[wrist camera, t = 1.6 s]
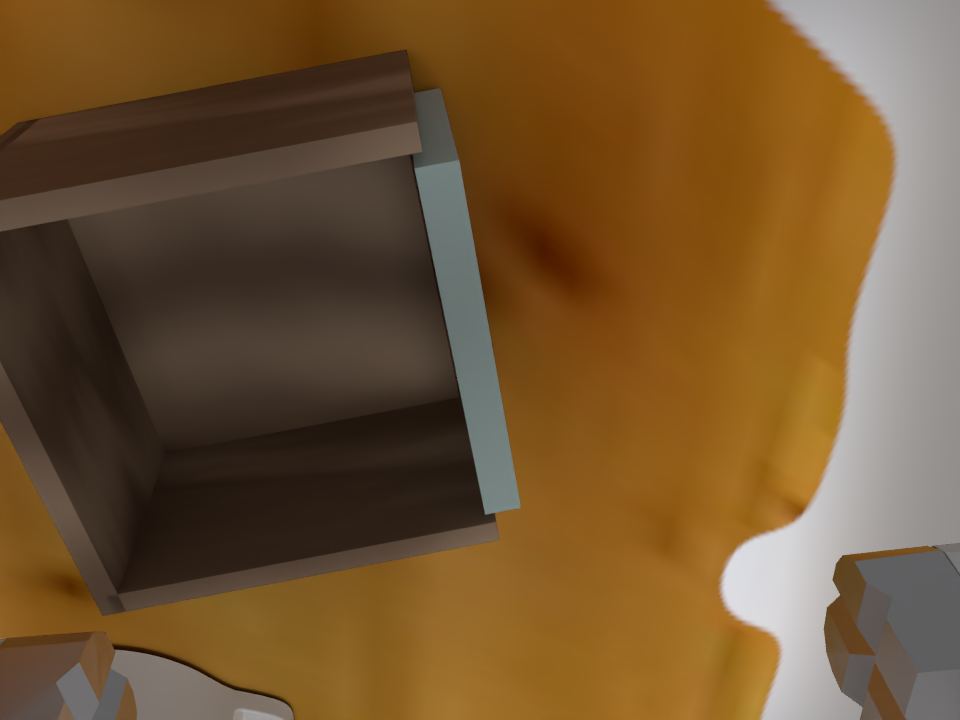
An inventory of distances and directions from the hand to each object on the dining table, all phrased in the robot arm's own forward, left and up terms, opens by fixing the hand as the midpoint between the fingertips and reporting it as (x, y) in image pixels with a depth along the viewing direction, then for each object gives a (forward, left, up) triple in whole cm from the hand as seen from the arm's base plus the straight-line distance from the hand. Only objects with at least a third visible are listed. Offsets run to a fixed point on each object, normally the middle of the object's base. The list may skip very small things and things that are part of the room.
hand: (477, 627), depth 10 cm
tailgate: (-6, 0, -24) cm, 25 cm away
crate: (-6, +7, -25) cm, 27 cm away
